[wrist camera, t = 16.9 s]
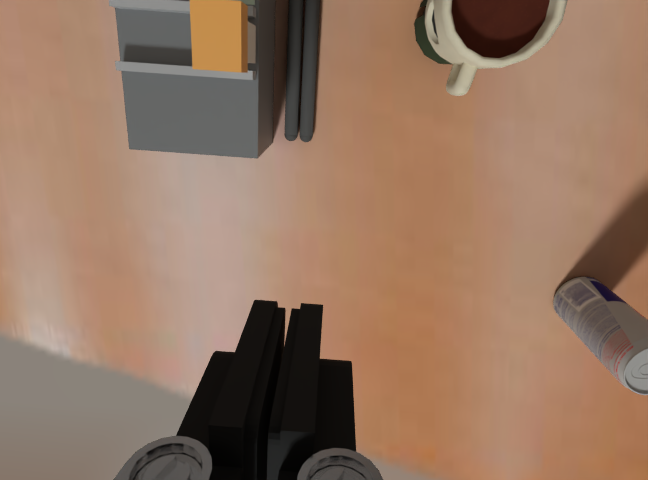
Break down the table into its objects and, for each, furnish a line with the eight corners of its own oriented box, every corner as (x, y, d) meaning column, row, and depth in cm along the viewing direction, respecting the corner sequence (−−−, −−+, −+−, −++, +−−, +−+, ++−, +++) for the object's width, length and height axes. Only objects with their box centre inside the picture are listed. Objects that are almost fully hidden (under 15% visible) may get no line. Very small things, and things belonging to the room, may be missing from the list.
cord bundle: (291, -50, 35) (289, -54, 34) (323, -48, 35) (322, -52, 34) (285, 139, 40) (283, 141, 39) (312, 141, 40) (311, 143, 39)
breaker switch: (220, 13, 29) (189, -3, 23) (261, 16, 29) (240, 1, 23) (221, 70, 30) (192, 69, 24) (260, 72, 30) (241, 72, 24)
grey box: (154, -65, 35) (93, -111, 26) (276, -57, 35) (256, -100, 26) (167, 135, 40) (122, 151, 32) (272, 142, 40) (254, 161, 32)
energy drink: (604, 313, 46) (689, 390, 35) (553, 323, 47) (621, 402, 35) (603, 270, 44) (693, 336, 33) (550, 281, 45) (620, 350, 34)
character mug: (434, -62, 34) (486, -136, 22) (516, -34, 35) (612, -91, 23) (389, 78, 38) (413, 80, 26) (464, 101, 39) (521, 114, 26)
